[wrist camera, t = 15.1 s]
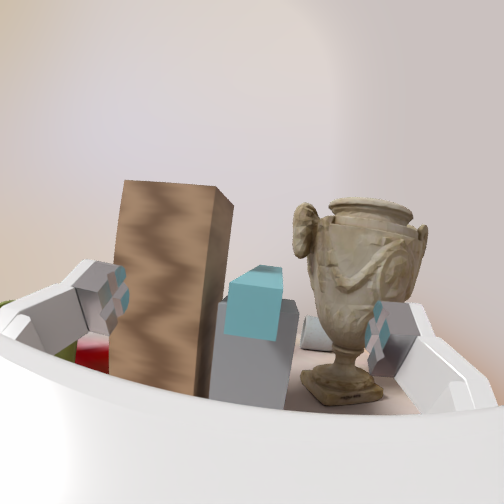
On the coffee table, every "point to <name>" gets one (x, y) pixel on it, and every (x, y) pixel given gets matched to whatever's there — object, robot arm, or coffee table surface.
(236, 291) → the teal bar
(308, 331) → the ceramic mug
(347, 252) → the urn
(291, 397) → the coffee table surface
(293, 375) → the coffee table surface
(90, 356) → the coffee table surface
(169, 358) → the walnut tower
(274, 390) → the grey block
